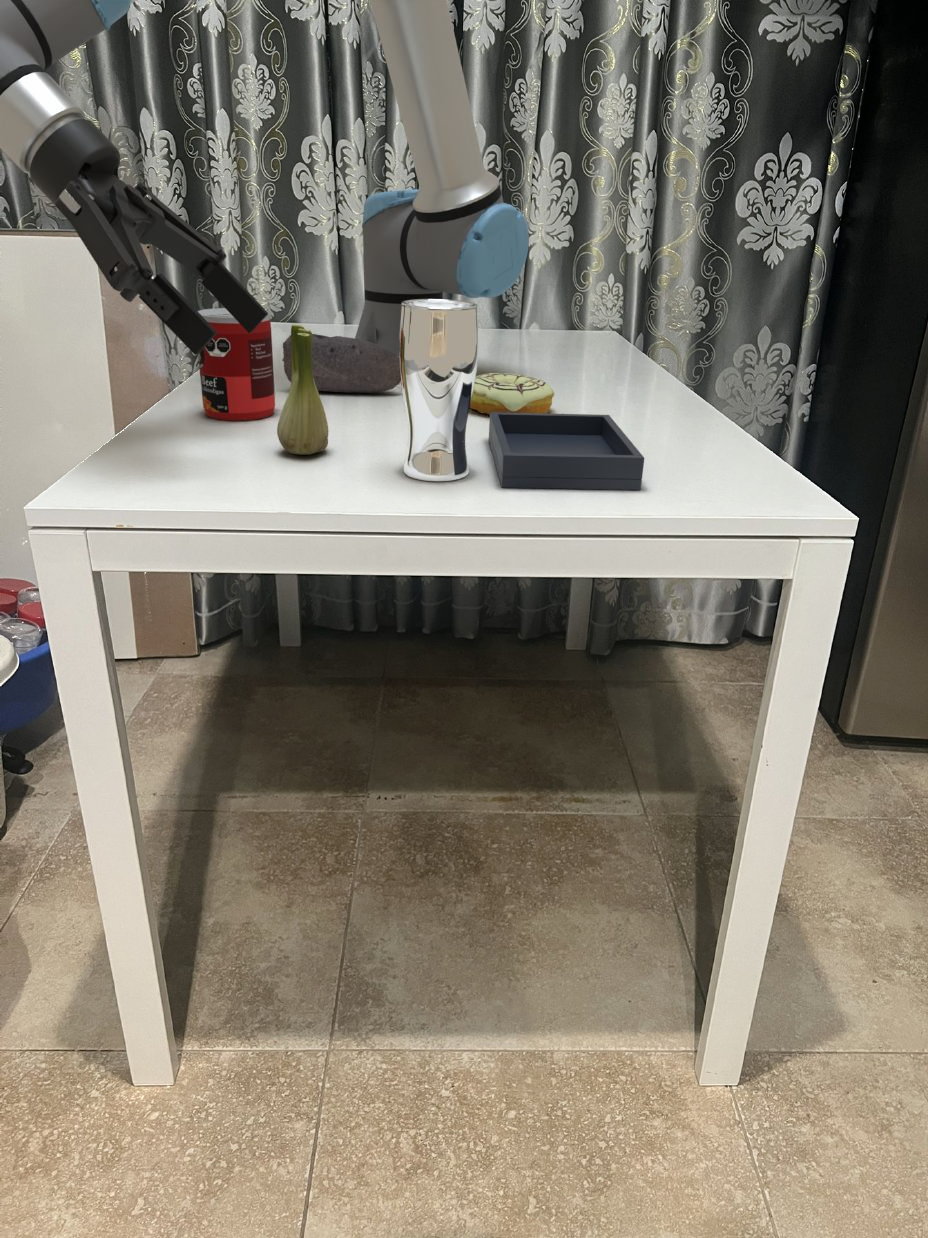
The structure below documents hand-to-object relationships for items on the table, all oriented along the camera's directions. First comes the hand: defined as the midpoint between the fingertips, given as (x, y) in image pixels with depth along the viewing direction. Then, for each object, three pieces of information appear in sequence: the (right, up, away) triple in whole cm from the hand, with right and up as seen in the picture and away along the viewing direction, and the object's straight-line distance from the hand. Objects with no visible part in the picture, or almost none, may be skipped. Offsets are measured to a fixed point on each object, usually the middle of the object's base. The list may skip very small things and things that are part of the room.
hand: (234, 333), depth 85 cm
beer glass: (+19, -13, 0) cm, 23 cm away
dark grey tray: (+31, -12, +4) cm, 33 cm away
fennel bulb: (+6, -11, +4) cm, 13 cm away
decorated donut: (+27, -2, +24) cm, 36 cm away
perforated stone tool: (+6, +2, +30) cm, 31 cm away
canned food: (-4, -4, +18) cm, 19 cm away
